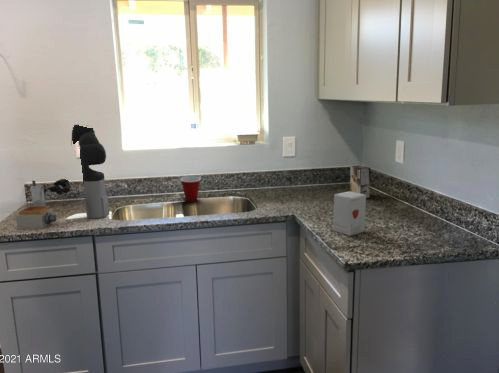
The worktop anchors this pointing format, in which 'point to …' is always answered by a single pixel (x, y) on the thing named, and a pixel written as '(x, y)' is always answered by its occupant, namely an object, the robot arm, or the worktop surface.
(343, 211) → the supplement box
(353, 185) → the coffee box
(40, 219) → the gearbox
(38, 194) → the moka pot
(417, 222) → the worktop surface
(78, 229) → the worktop surface
